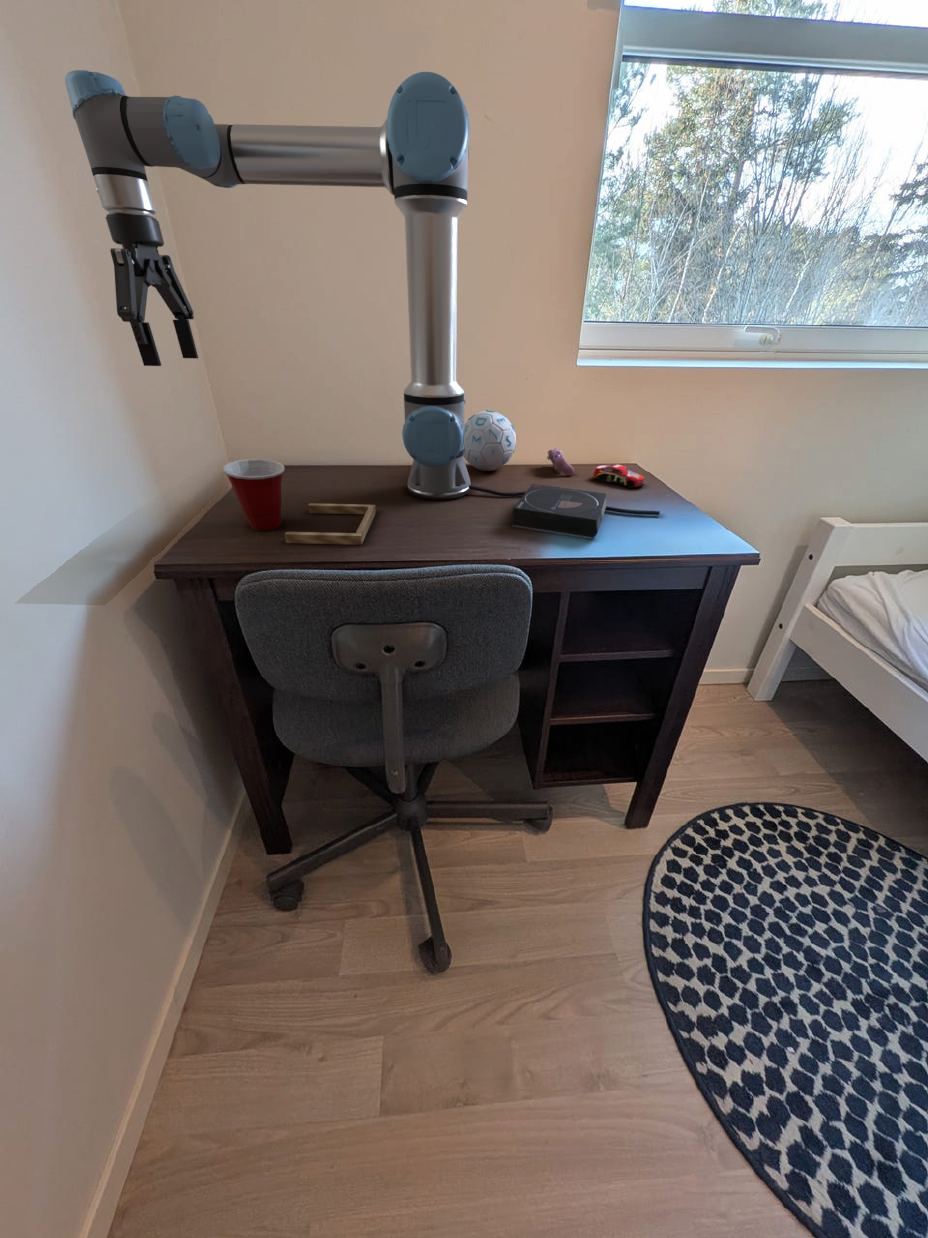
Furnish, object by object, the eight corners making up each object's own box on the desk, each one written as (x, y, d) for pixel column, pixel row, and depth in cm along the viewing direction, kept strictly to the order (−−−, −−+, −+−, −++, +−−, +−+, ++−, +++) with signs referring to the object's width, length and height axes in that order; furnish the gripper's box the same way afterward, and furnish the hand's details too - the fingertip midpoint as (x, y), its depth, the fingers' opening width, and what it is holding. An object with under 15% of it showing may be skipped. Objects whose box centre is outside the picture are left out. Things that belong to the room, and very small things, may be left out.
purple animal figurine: (551, 471, 136) (542, 448, 132) (566, 463, 135) (558, 440, 131) (560, 482, 128) (551, 458, 124) (576, 474, 127) (567, 450, 123)
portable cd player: (596, 539, 93) (599, 520, 91) (511, 526, 98) (513, 507, 96) (605, 511, 106) (608, 493, 104) (530, 500, 111) (532, 483, 109)
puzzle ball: (511, 479, 124) (515, 418, 116) (454, 475, 126) (454, 414, 118) (516, 463, 136) (520, 407, 128) (464, 460, 138) (465, 404, 130)
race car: (647, 485, 122) (650, 470, 120) (638, 490, 118) (641, 474, 116) (600, 474, 129) (602, 459, 127) (590, 479, 125) (593, 463, 123)
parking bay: (376, 512, 103) (375, 504, 102) (361, 544, 89) (360, 535, 88) (310, 511, 103) (309, 503, 102) (286, 543, 89) (284, 534, 88)
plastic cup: (278, 538, 91) (264, 476, 84) (227, 533, 93) (209, 471, 86) (304, 517, 100) (294, 459, 93) (257, 513, 101) (244, 455, 95)
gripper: (151, 224, 88) (186, 355, 100) (52, 200, 67) (111, 368, 79) (191, 225, 88) (221, 355, 100) (105, 201, 67) (156, 369, 79)
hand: (173, 361), depth 90 cm, fingers open, 13 cm apart
